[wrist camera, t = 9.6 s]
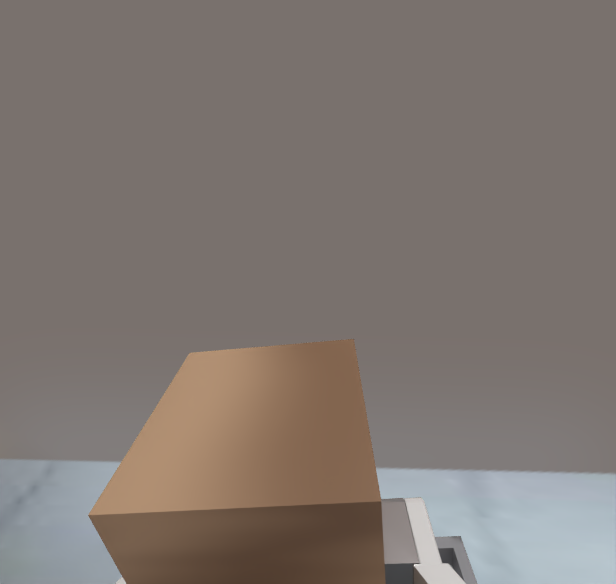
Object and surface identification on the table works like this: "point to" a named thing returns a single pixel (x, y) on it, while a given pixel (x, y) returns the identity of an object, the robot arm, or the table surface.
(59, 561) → the table surface
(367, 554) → the walnut block
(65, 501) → the table surface
